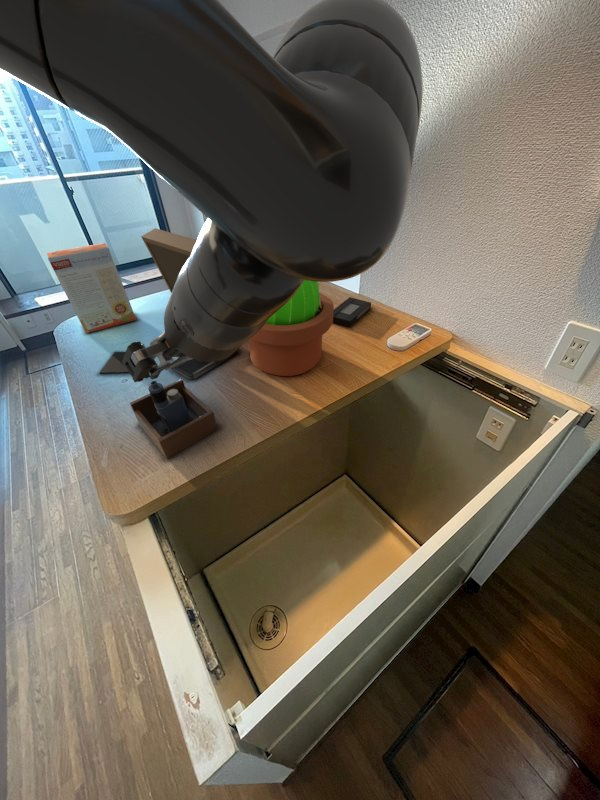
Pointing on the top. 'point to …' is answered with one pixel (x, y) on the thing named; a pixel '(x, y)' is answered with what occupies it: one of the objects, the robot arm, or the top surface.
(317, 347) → the potted cactus
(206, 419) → the wooden tray
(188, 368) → the phone
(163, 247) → the photo frame
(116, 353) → the coaster
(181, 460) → the top surface
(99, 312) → the cracker box
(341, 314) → the vhs tape
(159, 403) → the vaping device
